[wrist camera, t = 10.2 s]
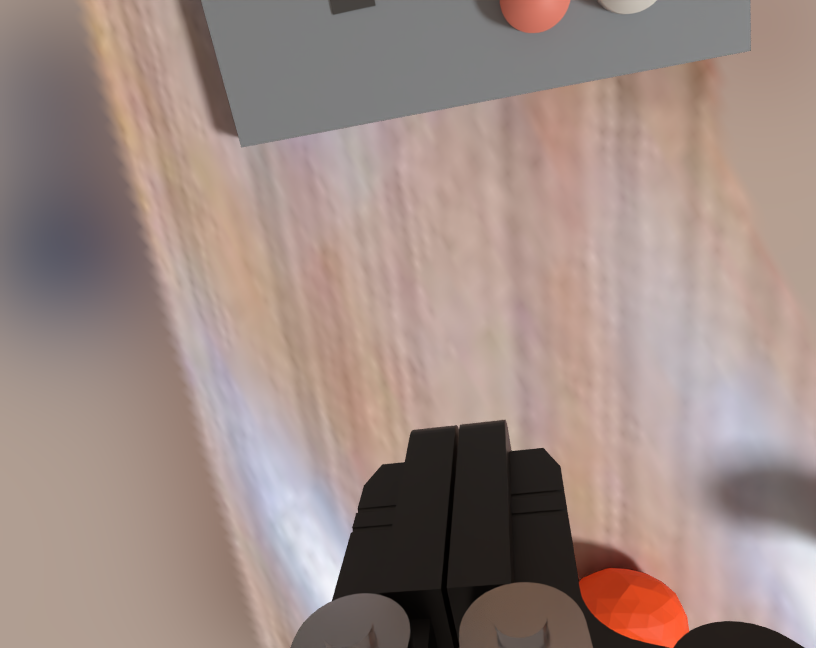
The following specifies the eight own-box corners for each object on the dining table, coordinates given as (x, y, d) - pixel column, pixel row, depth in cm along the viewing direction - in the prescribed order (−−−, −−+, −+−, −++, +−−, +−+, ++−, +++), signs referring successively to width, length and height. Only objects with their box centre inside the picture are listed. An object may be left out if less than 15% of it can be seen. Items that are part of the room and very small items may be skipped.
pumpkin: (649, 639, 48) (664, 733, 42) (541, 599, 47) (542, 689, 42) (706, 575, 44) (731, 670, 38) (589, 532, 44) (597, 620, 38)
